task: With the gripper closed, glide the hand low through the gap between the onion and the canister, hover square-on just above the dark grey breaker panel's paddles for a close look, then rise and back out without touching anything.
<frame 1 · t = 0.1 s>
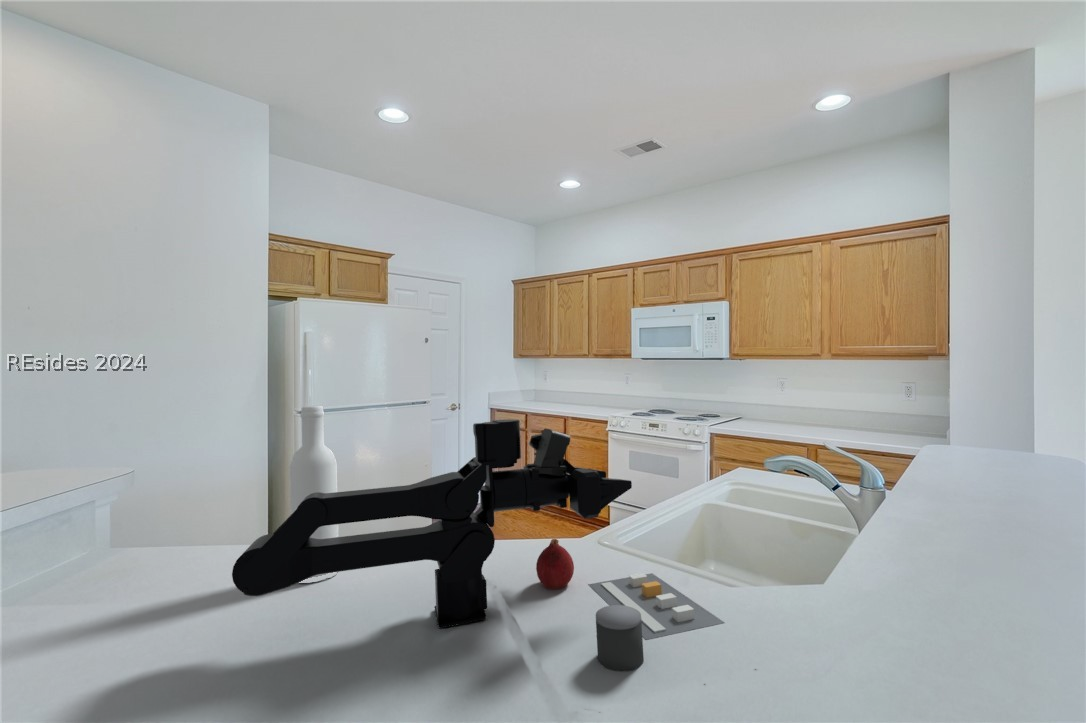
hand: (617, 479, 78), 17 cm above the worktop, tool horizontal, fingers open, 9 cm apart
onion: (556, 593, 76), on the worktop
canister: (621, 669, 55), on the worktop
breaker panel: (650, 610, 69), on the worktop
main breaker: (651, 589, 71), point 2 cm above the worktop, hinge at 0.0°, touching breaker panel
bottle: (315, 576, 88), on the worktop
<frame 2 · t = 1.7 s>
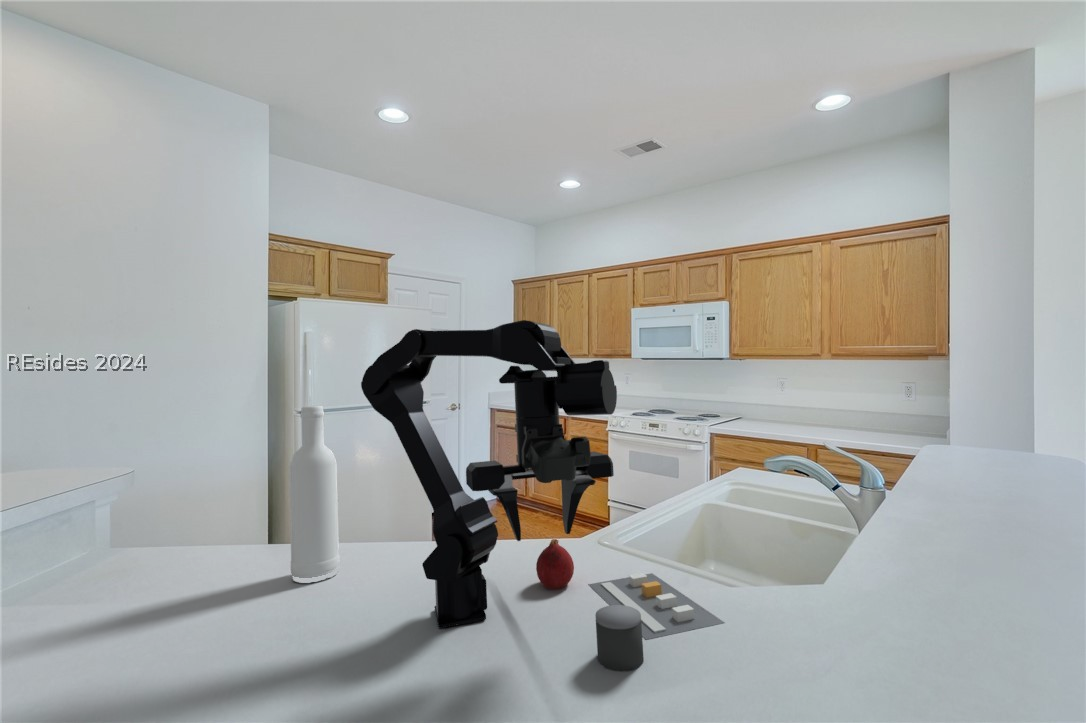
hand: (543, 536, 65), 12 cm above the worktop, tool pointing down, fingers open, 6 cm apart
nothing on the worktop moved.
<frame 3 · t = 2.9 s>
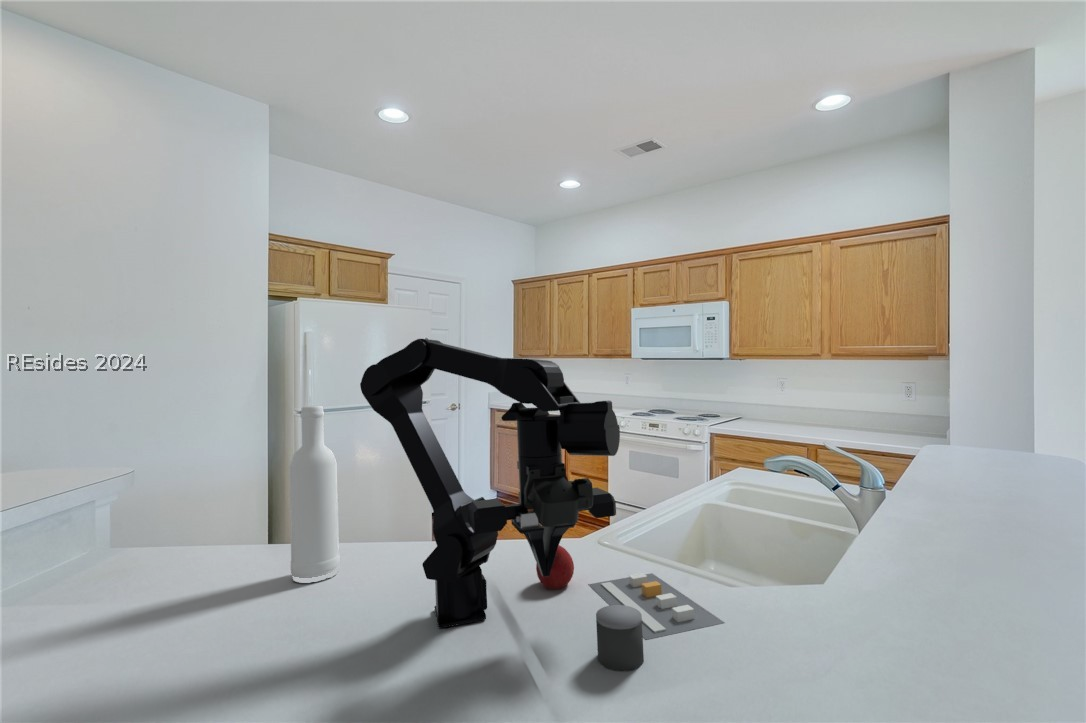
hand: (545, 575, 64), 7 cm above the worktop, tool pointing down, fingers closed
nothing on the worktop moved.
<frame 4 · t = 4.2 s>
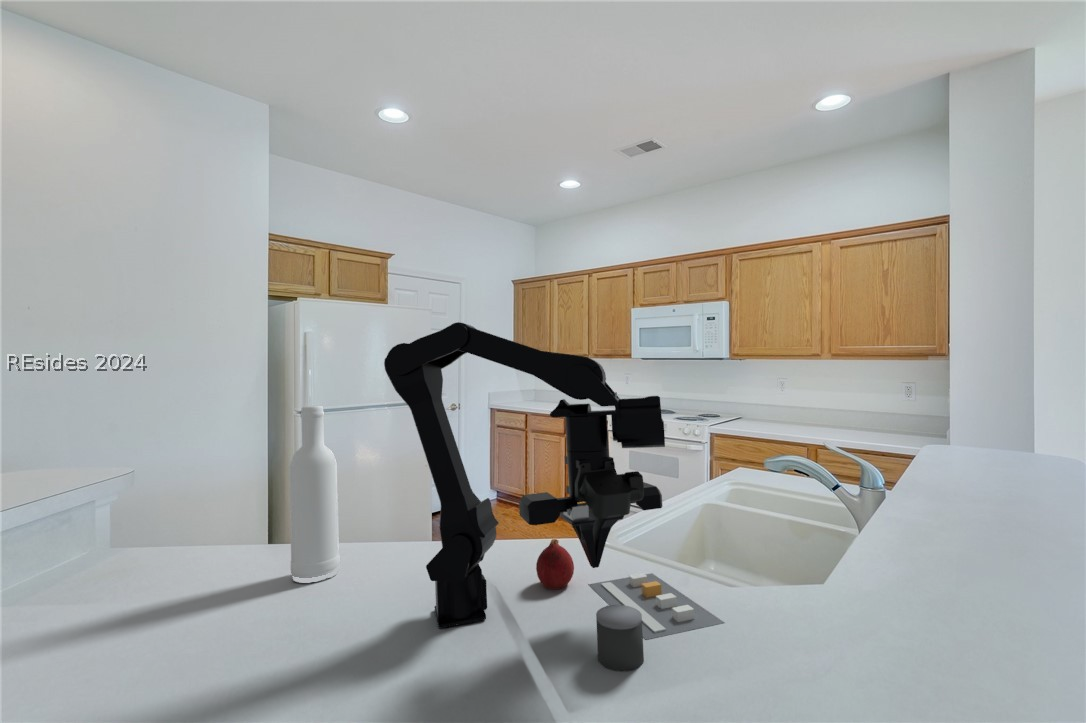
hand: (594, 566, 66), 7 cm above the worktop, tool pointing down, fingers closed
nothing on the worktop moved.
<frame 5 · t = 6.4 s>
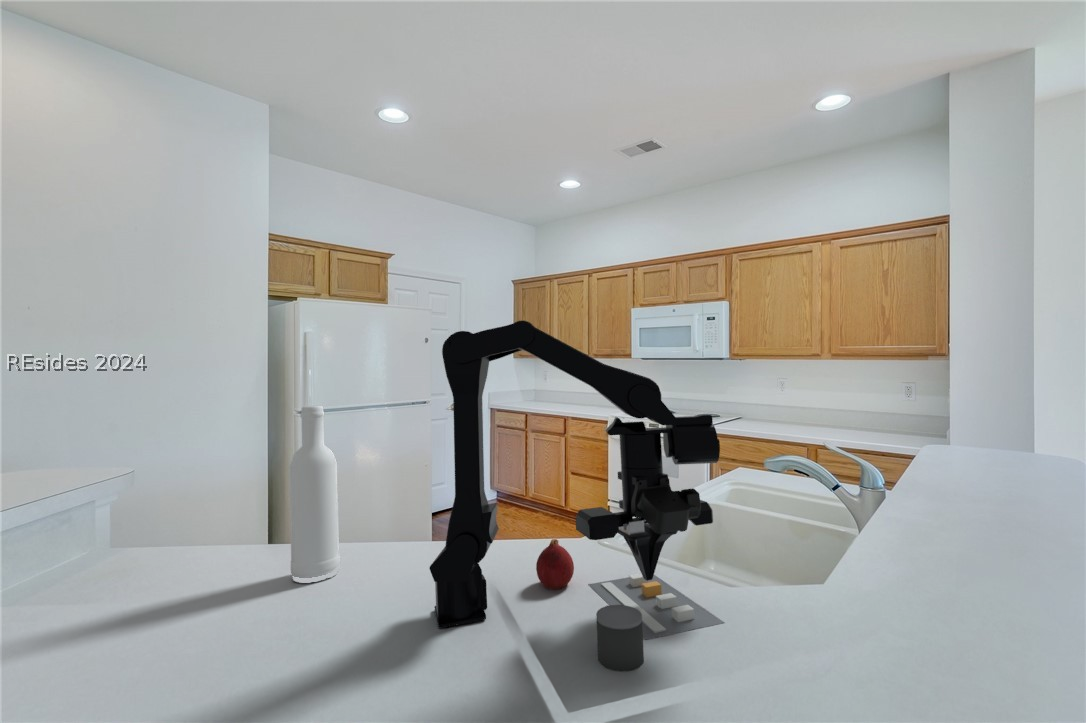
hand: (647, 579, 69), 4 cm above the worktop, tool pointing down, fingers closed
nothing on the worktop moved.
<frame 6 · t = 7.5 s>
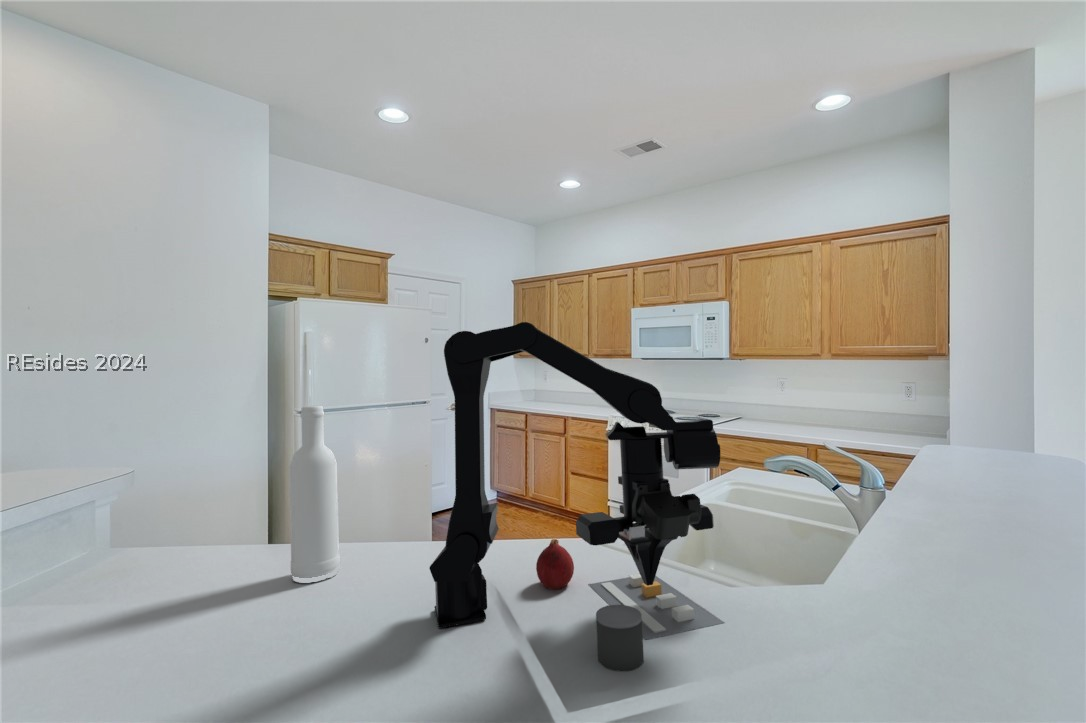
hand: (648, 584, 69), 4 cm above the worktop, tool pointing down, fingers closed
nothing on the worktop moved.
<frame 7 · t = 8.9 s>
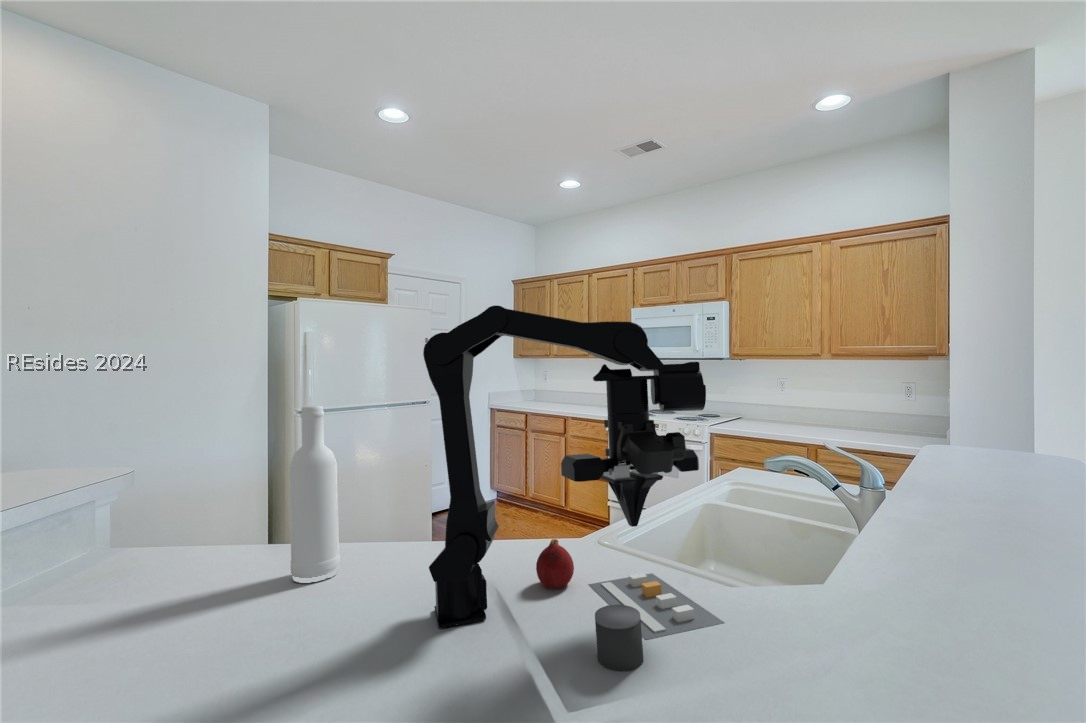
hand: (633, 525, 69), 12 cm above the worktop, tool pointing down, fingers closed
nothing on the worktop moved.
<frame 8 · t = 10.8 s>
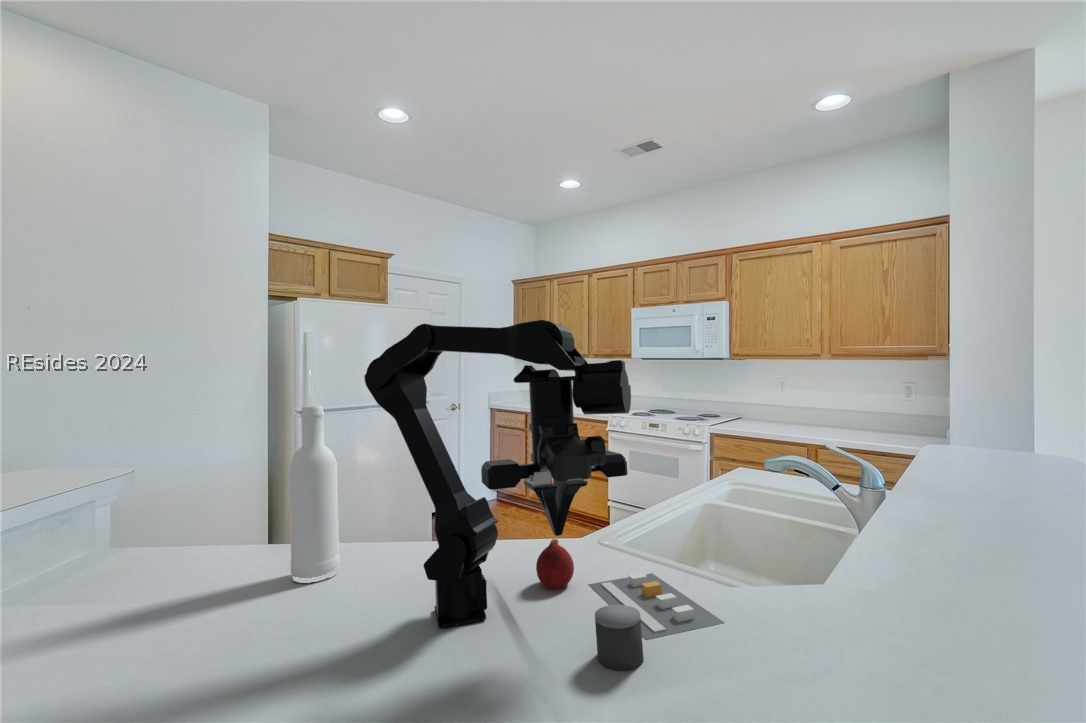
hand: (557, 534, 65), 12 cm above the worktop, tool pointing down, fingers closed
nothing on the worktop moved.
at the end: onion moved 0.2 cm from its start; canister moved 0.0 cm from its start; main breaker at +0° (first picture: +0°) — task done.
